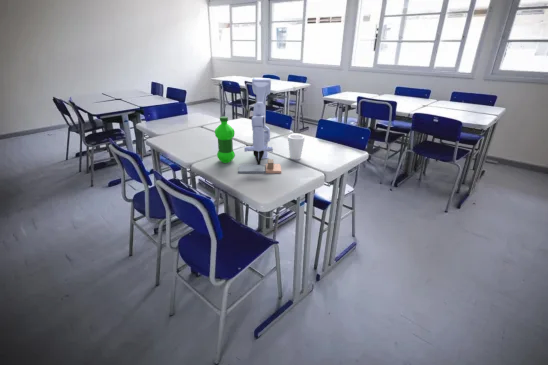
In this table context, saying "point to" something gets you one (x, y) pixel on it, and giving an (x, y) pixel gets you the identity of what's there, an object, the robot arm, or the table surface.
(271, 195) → the table surface
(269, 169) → the stub
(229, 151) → the plastic bottle
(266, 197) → the table surface
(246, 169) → the board
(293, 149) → the foam cup
